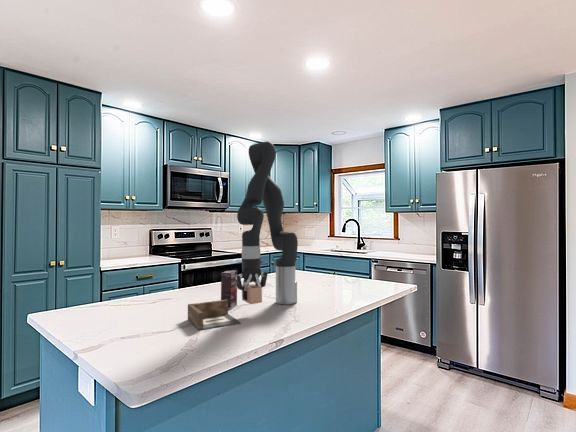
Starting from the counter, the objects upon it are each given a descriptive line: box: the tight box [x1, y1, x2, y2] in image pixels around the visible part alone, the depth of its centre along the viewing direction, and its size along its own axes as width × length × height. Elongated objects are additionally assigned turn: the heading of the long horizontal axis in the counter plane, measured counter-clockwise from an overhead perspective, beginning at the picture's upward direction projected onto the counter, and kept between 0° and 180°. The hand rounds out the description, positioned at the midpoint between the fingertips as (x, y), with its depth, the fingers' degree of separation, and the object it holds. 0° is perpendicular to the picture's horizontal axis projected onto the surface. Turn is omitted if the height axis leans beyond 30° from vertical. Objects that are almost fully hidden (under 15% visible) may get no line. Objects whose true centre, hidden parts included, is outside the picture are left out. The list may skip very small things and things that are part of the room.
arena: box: [187, 299, 242, 331], centre depth 137 cm, size 16×15×6 cm
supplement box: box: [220, 269, 238, 311], centre depth 159 cm, size 9×5×16 cm, turn 168°
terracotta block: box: [241, 283, 263, 305], centre depth 145 cm, size 5×8×6 cm, turn 31°
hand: (251, 298), depth 145 cm, fingers closed on terracotta block, 5 cm apart
